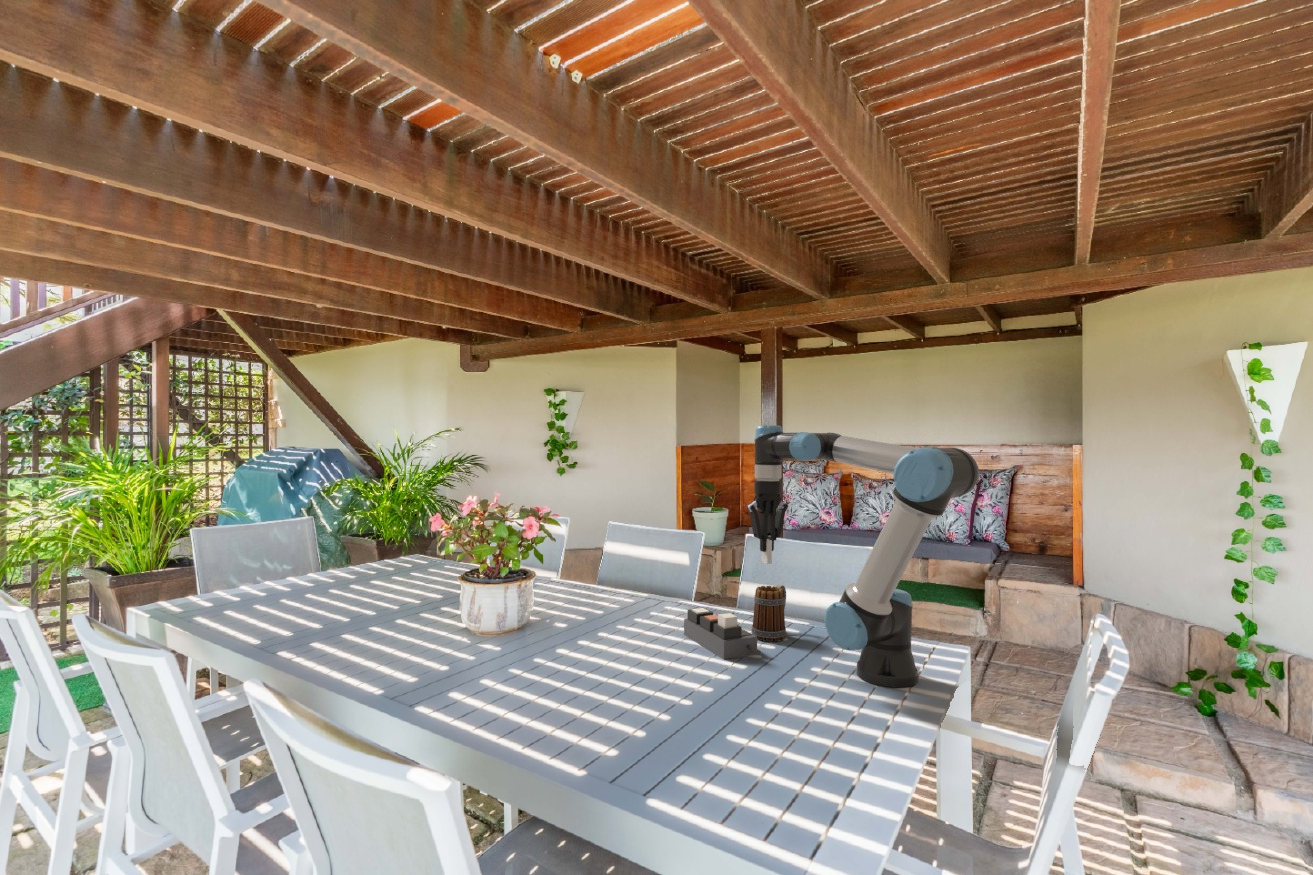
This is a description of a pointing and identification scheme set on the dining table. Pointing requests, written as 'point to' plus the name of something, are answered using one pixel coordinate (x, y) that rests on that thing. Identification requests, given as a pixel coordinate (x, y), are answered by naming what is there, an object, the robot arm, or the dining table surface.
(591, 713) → the dining table surface
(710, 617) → the button
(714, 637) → the push button switch box
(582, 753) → the dining table surface
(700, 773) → the dining table surface
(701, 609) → the button
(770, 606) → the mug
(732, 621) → the button
